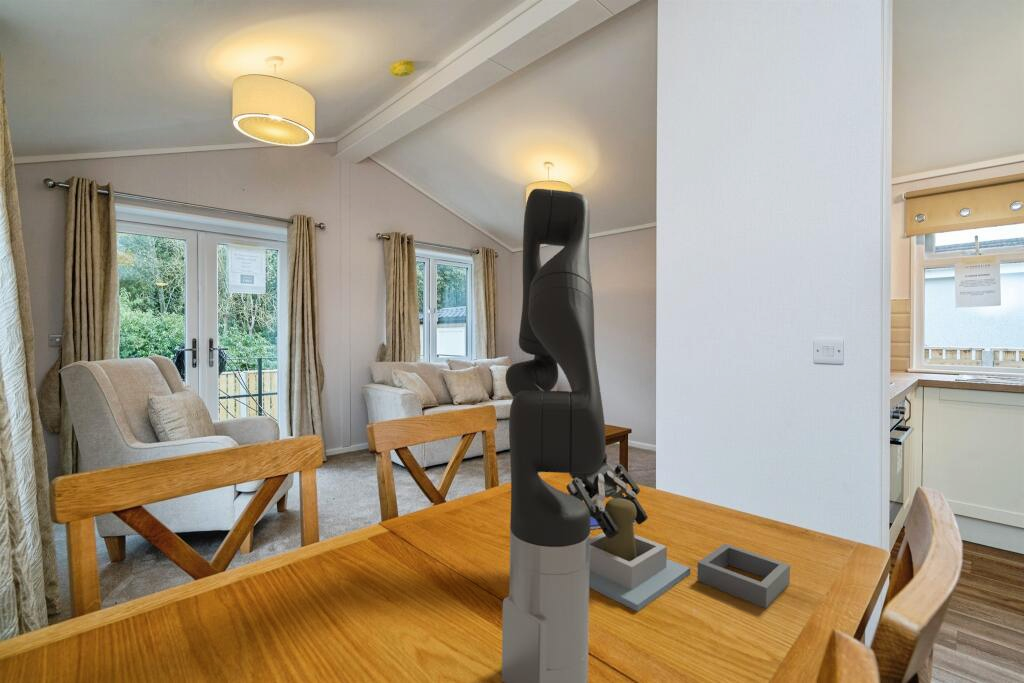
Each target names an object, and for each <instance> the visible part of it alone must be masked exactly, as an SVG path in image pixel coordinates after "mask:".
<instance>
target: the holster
mask: <svg viewBox="0 0 1024 683" xmlns="http://www.w3.org/2000/svg"><path fill="white" fill-rule="evenodd" d="M728 566H731V567H733V568H737V569H739V570H742V571H745V572H747V573H751V574H753V575H756V576H759V577H761V578H764V579H762V580H761V581H760V580H756V579H754V578H751V577H749V576H746V575H744V574H740V573H738V572H735V571H732V570H730V569H726V568H727V567H728ZM790 576H791V564H789V563H785V562H782V561H779V560H777V559H774V558H771V557H768V556H764V555H761V554H758V553H756V552H752V551H749V550H746V549H743V548H741V547H737V546H735V545H732V544H728V543H723V544H722V545H720V546H719V547H717V548H715V549H714V551H711V552H710V553H709V554H707V555H706V556H705V557H703V558H701V559H700V560H699V561H698V562H697V580H698V581H697V580H696V581H697V582H700V583H702V584H705V585H707V586H710V587H713V588H715V589H717V590H720V591H722V592H724V593H727V594H730V595H732V596H735V597H737V598H740V599H742V600H745V601H746V602H749V603H752V604H754V605H757V606H759V607H762V608H764V609H767V608H768V607H769V606H770V605H771V604H772V603H773V602H774V601H775V600H776V599H777V598H778V596H780V594H781V593H782V592H783V591H784V590H785V589H786V588H787V587H788V586H789V585H790V582H791V581H790V580H791V577H790Z"/></svg>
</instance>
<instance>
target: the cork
mask: <svg viewBox="0 0 1024 683" xmlns="http://www.w3.org/2000/svg"><path fill="white" fill-rule="evenodd" d="M604 508H605V511H607V512H608V514H609V515H610V517H611V519H612V520H613V522H614V523H615V525H616V526H617V528H618V530H619V533H618V534H617V535H615V536H614V537H612V538H608V537H607V536H605V543H604V549H603V551H605V552H608V553H610V554H613V555H615V556H617V557H620V558H622V559H625V560H627V561H629V562H630V561H632V560H633V559H635V558H637V555H636V546H635V537H634V535H635V531H634V530H635V529H634V528H635V527H634V525H633V521H634V520H635V519H636V515H637V511H636V507H635V505H634V503H633V502H631V501H629V500H627V499H622V498H615V499H614V498H611V499H609V500H607V501H606V503H605V504H604Z"/></svg>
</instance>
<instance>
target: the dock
mask: <svg viewBox="0 0 1024 683" xmlns="http://www.w3.org/2000/svg"><path fill="white" fill-rule="evenodd" d="M605 536H606V535H605V534H604V533H603V532H601V533H599V534H596V535H595V536H593V537H590V575H589V589H591V590H594V592H595V591H596V592H598V593H600V594H601V595H603V596H605V597H607V598H609V599H612V600H614V601H616V602H617V603H619V604H621V605H624V606H626V607H627V608H629V609H632V610H633V611H635V612H639V611H640V610H642V609H643V608H645V607H646V606H647V605H650V603H652V602H653V601H655V600H656V599H657V598H660V596H662V595H663V594H664V593H666V592H667V591H668V590H670V589H671V588H673V587H674V586H676V585H677V584H678V583H680V582H681V581H682V580H684V579H685V578H686V577H688V576H689V575H690V574H691V567H689V566H687V565H684V564H681V563H679V562H675V561H674V560H671V559H668V558H667V553H668V552H667V548H668V546H666V545H664V544H661V543H659V542H656V541H653V540H650V539H648V538H645V537H642V536H639V535H637V534H634V537H635V546H636V555H637V558H635V559H633V560H632V561H630V562H629V561H627V560H625V559H622V558H620V557H617V556H615V555H613V554H610V553H608V552H605V551H603V549H604V543H605ZM683 578H684V579H683Z"/></svg>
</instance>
